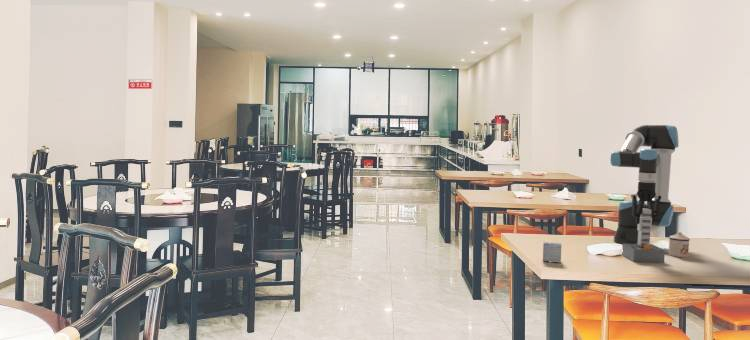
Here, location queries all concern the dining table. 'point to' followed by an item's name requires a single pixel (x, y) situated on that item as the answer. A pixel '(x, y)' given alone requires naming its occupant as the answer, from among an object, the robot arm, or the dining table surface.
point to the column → (644, 228)
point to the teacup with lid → (678, 245)
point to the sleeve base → (643, 253)
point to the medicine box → (552, 252)
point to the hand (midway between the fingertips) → (644, 230)
